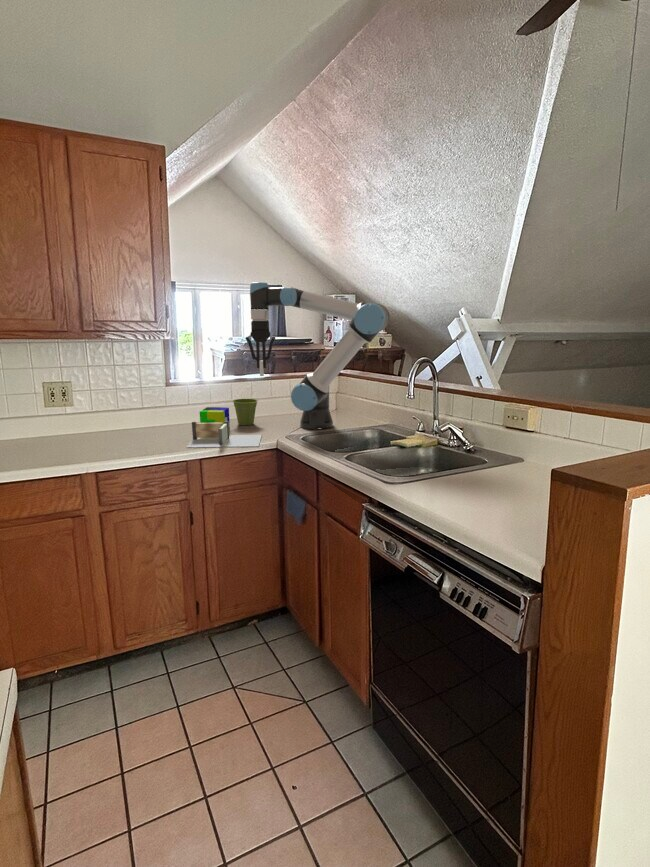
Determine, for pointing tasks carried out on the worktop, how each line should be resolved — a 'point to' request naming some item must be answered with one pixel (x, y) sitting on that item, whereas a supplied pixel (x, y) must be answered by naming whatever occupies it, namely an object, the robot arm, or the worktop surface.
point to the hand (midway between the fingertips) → (261, 375)
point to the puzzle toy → (214, 415)
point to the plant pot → (245, 410)
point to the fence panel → (222, 434)
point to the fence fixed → (207, 429)
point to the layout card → (227, 442)
